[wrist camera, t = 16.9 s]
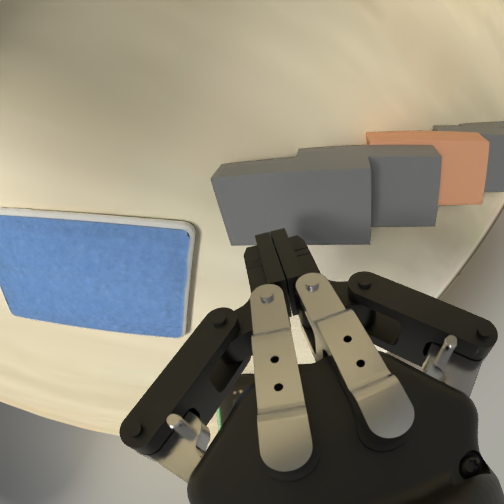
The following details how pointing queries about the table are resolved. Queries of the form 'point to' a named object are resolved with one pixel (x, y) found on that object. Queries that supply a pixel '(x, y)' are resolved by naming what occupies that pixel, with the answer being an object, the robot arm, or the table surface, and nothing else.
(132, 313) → the blue flat board
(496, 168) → the domino
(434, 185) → the domino
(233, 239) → the domino
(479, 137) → the domino
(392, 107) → the table surface
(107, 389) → the table surface
